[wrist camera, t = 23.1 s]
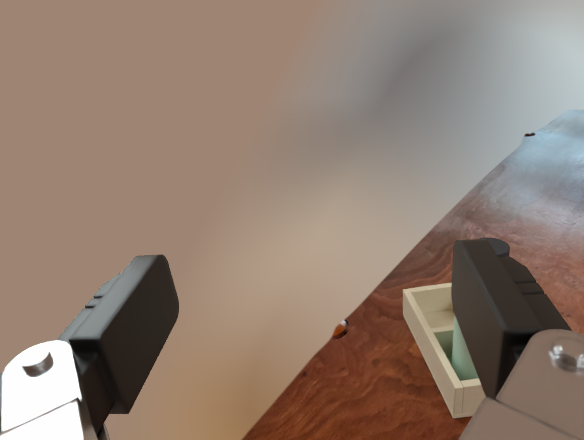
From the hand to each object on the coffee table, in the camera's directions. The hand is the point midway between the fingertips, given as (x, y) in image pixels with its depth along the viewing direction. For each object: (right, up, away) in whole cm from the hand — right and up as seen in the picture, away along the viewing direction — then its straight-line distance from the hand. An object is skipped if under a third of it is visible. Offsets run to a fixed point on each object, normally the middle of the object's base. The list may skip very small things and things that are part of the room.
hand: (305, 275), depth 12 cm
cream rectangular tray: (+19, -13, +36) cm, 43 cm away
